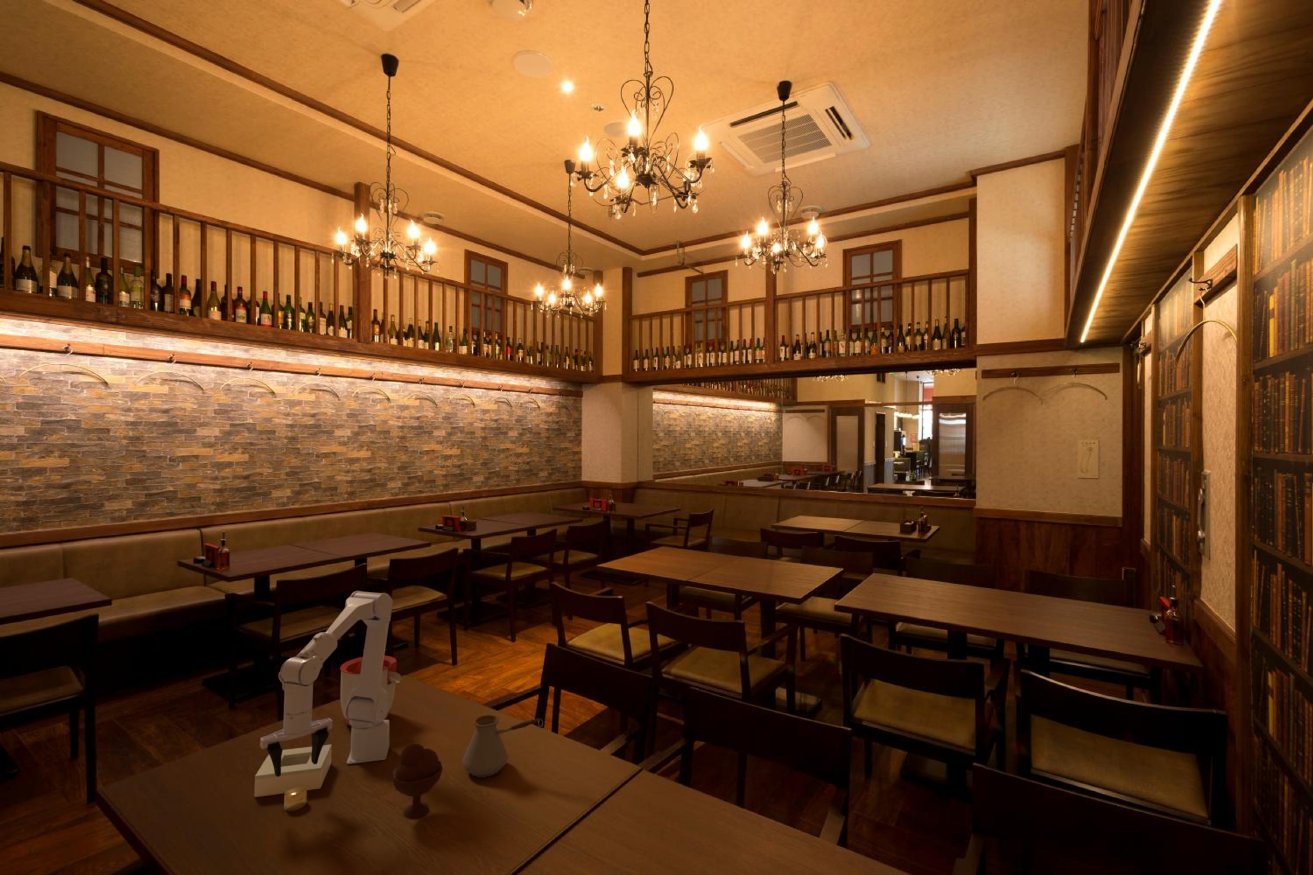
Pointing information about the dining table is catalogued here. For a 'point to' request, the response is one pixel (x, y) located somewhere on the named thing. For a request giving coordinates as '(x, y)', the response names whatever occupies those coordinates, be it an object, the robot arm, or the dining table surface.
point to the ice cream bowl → (416, 776)
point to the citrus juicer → (352, 677)
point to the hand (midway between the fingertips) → (296, 768)
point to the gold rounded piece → (295, 799)
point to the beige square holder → (293, 772)
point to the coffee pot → (488, 746)
